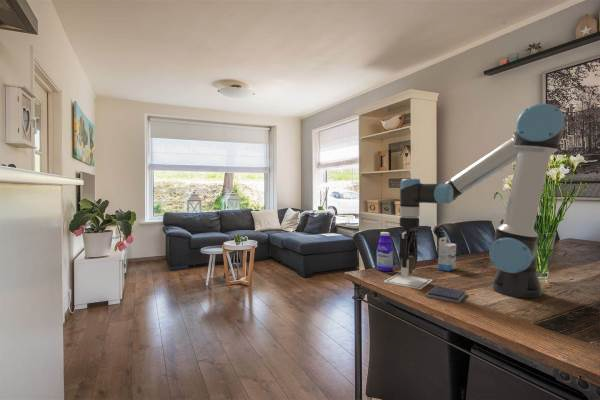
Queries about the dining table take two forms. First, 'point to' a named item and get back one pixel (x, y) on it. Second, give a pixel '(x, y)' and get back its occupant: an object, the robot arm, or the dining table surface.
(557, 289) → the dining table surface
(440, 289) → the ink pad
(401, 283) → the print sheet
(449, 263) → the ink box
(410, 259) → the cup
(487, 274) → the dining table surface
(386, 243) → the bottle
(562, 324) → the dining table surface
